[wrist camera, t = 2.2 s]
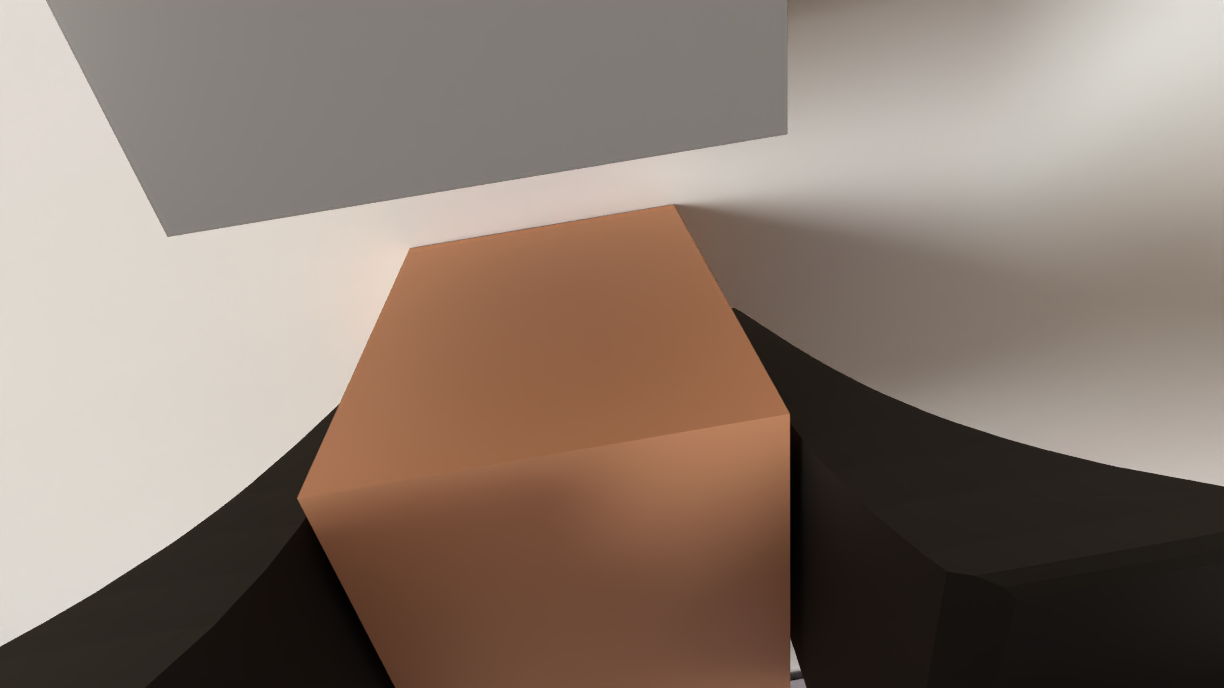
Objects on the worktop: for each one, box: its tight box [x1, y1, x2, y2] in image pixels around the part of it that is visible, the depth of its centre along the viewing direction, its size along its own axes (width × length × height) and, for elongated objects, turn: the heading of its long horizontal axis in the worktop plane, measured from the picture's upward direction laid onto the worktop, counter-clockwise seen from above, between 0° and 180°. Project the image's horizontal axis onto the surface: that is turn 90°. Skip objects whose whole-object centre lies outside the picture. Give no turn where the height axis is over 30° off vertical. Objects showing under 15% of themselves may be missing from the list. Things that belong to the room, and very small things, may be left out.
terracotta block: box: [297, 205, 790, 688], centre depth 10 cm, size 4×4×6 cm
